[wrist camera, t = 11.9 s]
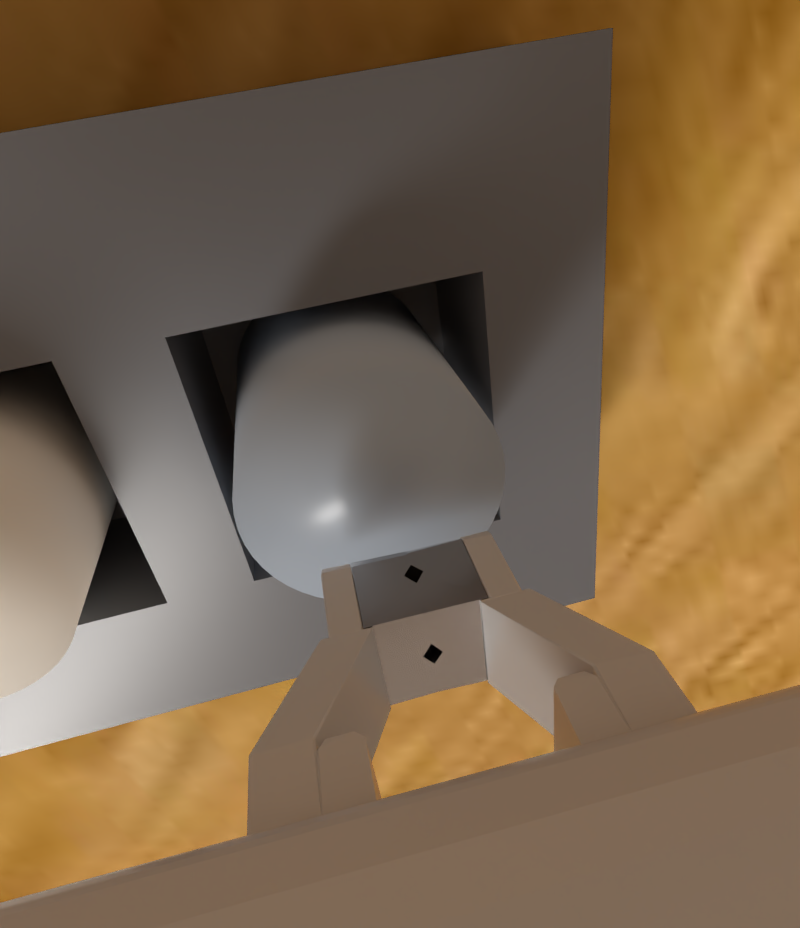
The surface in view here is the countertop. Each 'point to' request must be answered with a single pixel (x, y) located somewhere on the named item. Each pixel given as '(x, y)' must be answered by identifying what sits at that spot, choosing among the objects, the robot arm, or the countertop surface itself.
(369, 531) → the slate button
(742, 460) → the countertop surface
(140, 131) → the egg tray
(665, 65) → the countertop surface
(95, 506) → the ivory button
